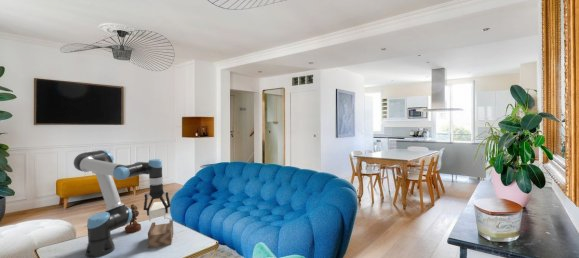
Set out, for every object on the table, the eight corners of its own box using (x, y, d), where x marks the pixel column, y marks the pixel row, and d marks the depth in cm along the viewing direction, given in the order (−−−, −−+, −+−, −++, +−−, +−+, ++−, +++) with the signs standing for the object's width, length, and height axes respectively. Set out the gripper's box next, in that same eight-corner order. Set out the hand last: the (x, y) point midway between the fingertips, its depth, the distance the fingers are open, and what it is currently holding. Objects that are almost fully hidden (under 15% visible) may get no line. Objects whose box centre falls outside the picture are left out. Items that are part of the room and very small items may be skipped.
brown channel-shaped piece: (148, 248, 177) (147, 232, 177) (152, 236, 194) (152, 222, 194) (171, 244, 182) (170, 229, 181) (173, 233, 199) (172, 219, 198)
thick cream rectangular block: (150, 217, 172) (149, 210, 171) (154, 208, 189) (153, 202, 188) (164, 215, 174) (163, 209, 174) (166, 206, 191) (166, 200, 191)
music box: (146, 228, 209) (143, 203, 206) (133, 235, 199) (129, 209, 196) (132, 225, 215) (129, 201, 212) (118, 232, 205) (115, 206, 202)
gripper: (136, 187, 167) (138, 223, 168) (173, 183, 174) (175, 219, 175) (138, 184, 174) (140, 219, 175) (174, 180, 181) (176, 215, 182)
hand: (157, 219), depth 175 cm, fingers closed on thick cream rectangular block, 8 cm apart
